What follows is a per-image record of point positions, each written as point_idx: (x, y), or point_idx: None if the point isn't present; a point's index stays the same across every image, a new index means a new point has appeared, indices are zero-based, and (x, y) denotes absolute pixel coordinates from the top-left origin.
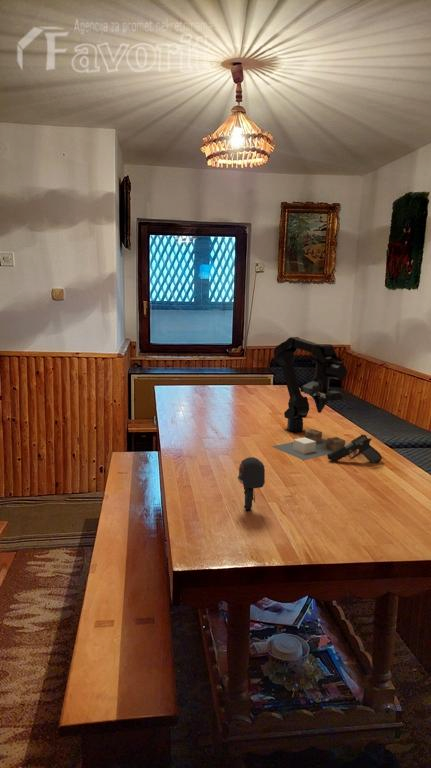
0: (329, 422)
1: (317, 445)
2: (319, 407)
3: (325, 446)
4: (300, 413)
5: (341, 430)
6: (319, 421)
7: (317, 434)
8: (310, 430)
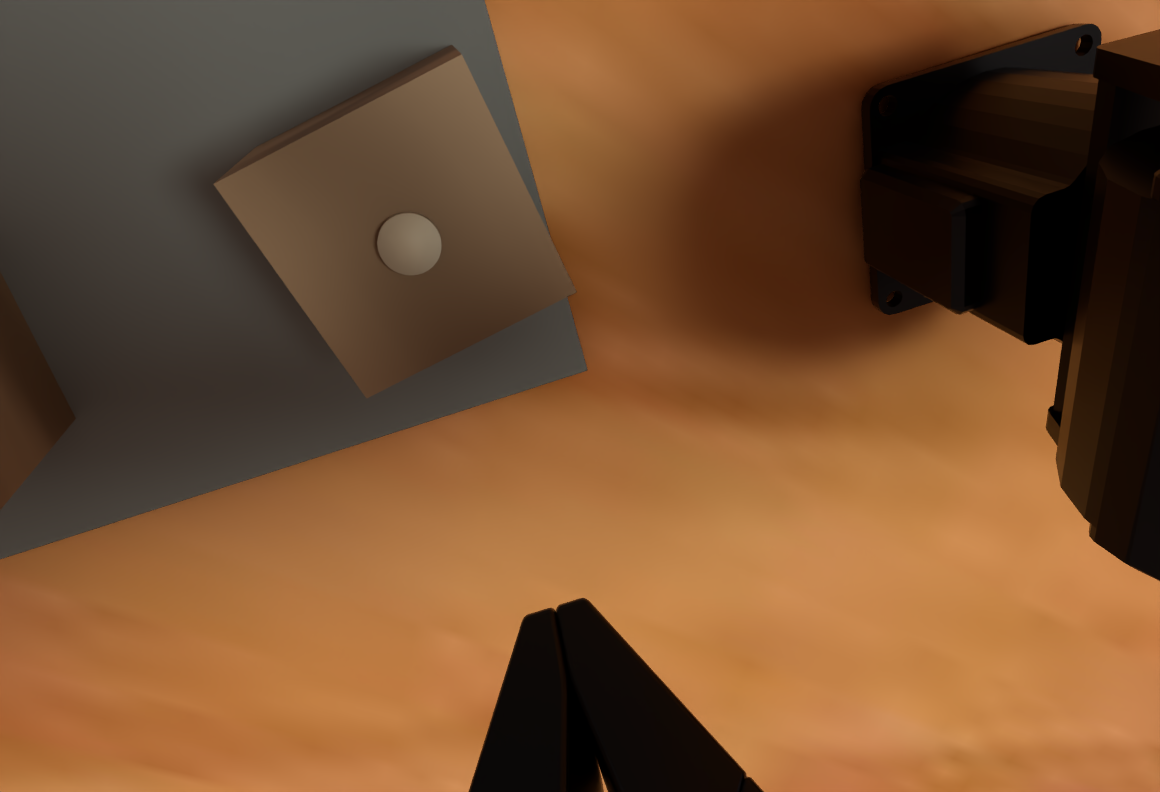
0: (1018, 703)
1: (139, 145)
2: (497, 774)
3: (79, 260)
4: (1093, 272)
5: (756, 717)
6: (1096, 634)
7: (274, 255)
8: (499, 217)
